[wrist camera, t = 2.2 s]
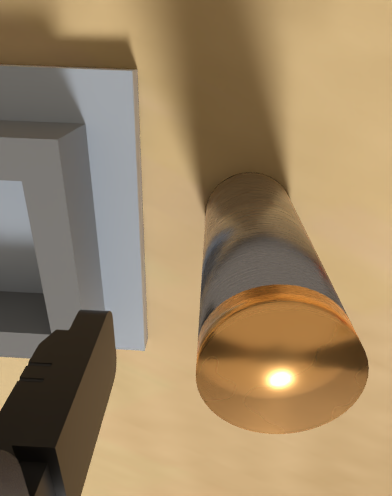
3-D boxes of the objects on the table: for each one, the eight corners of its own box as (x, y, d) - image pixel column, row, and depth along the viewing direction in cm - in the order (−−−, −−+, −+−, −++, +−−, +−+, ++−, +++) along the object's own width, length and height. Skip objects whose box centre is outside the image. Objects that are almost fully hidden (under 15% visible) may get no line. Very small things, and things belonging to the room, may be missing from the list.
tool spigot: (297, 174, 17) (389, 315, 8) (284, 253, 19) (347, 438, 10) (207, 170, 17) (199, 305, 8) (204, 249, 19) (193, 428, 10)
